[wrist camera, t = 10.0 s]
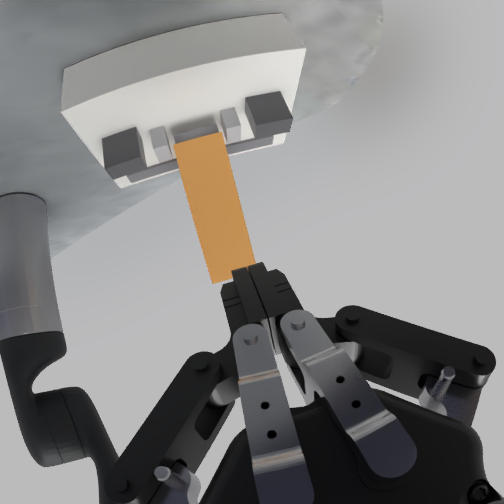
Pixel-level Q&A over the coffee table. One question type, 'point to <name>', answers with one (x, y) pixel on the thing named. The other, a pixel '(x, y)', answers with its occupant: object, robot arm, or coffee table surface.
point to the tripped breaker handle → (213, 201)
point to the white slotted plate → (185, 93)
